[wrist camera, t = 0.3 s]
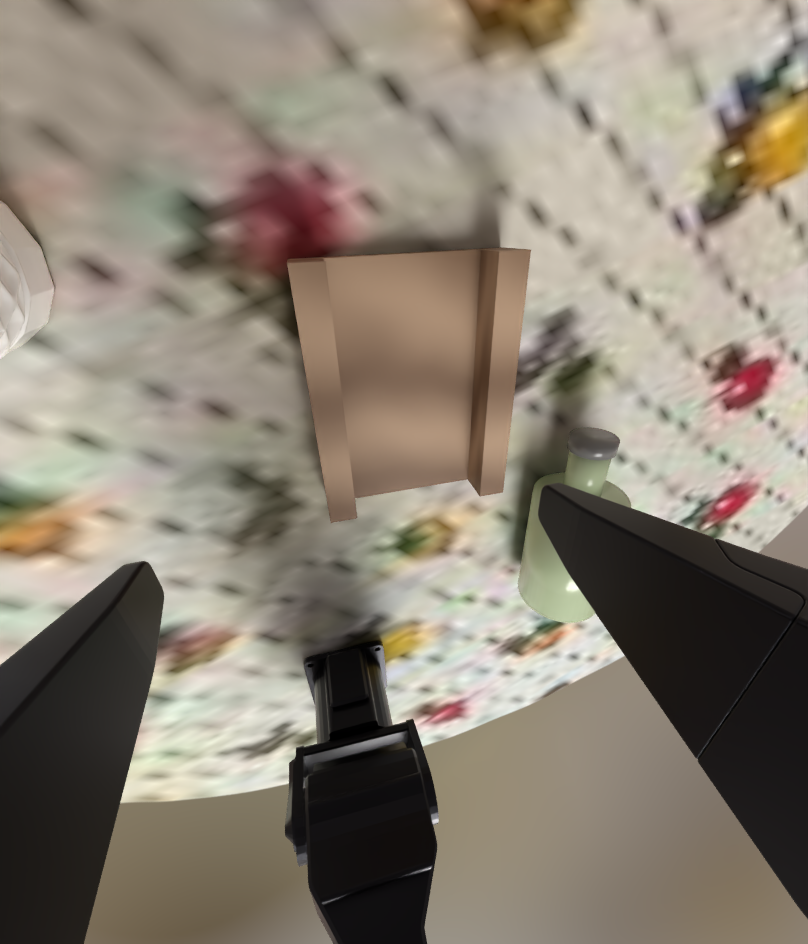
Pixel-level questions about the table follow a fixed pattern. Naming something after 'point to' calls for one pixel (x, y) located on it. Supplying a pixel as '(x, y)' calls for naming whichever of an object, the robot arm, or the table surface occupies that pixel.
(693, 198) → the table surface
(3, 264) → the white cup
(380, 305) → the rest
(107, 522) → the table surface
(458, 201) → the table surface
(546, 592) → the bottle
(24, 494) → the table surface
